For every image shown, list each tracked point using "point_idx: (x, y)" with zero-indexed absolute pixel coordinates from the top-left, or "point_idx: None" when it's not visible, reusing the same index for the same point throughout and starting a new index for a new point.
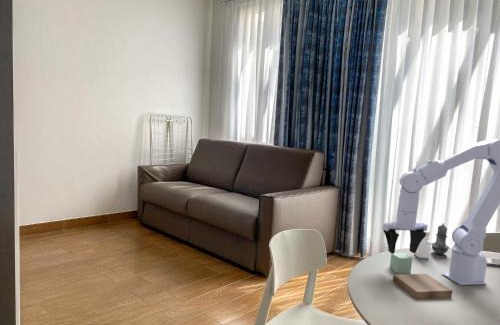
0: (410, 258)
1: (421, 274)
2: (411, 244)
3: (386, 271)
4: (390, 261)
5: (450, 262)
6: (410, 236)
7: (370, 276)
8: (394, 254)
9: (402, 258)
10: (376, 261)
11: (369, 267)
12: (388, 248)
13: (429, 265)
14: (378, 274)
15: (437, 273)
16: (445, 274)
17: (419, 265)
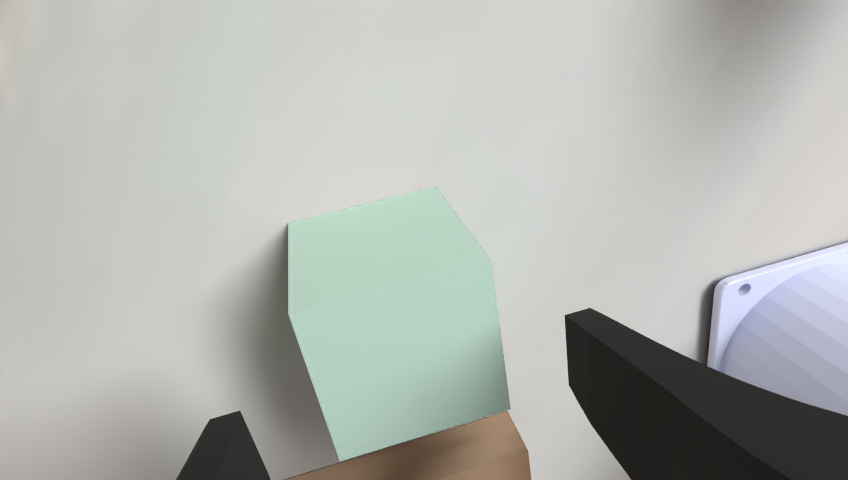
0: (482, 414)
1: (480, 474)
2: (628, 396)
3: (220, 327)
4: (288, 256)
5: (840, 387)
6: (730, 447)
7: (19, 472)
8: (316, 358)
9: (377, 446)
10: (161, 46)
11: (29, 268)
12: (194, 457)
13: (763, 75)
14: (114, 413)
15: (696, 260)
16: (727, 312)
17: (659, 94)
